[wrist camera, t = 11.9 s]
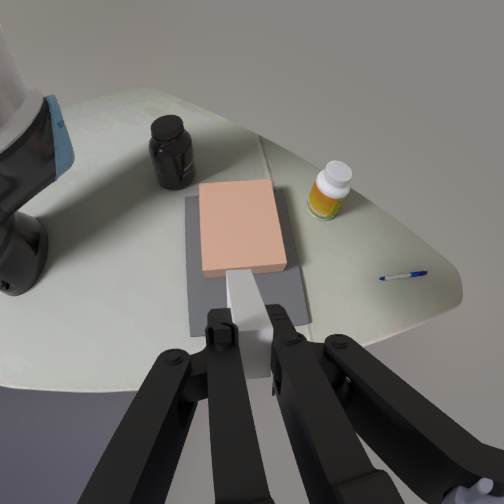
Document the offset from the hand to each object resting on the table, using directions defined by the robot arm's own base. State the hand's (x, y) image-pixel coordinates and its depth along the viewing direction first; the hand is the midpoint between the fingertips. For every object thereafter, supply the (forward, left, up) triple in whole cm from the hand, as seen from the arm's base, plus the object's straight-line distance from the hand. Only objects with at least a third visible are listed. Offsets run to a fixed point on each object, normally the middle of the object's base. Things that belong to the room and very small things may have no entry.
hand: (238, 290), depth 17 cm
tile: (-3, +8, -18) cm, 20 cm away
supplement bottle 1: (-23, +16, -21) cm, 35 cm away
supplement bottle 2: (0, +25, -21) cm, 33 cm away
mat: (-6, +10, -21) cm, 24 cm away
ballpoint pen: (+19, +22, -21) cm, 36 cm away
